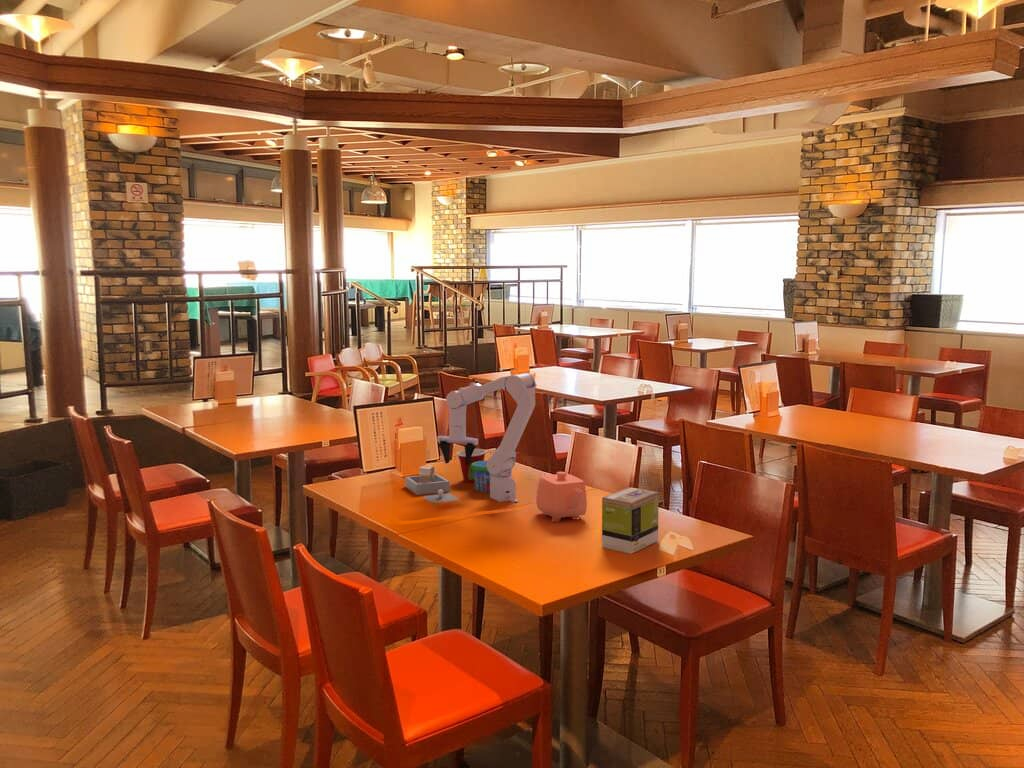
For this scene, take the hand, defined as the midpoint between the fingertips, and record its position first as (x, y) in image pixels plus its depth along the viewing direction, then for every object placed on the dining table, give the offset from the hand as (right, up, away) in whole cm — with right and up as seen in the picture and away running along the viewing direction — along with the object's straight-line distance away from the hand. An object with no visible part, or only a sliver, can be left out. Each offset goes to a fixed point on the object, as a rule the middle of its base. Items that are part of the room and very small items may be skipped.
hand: (457, 463), depth 284 cm
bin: (-11, -10, +3) cm, 15 cm away
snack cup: (+10, -10, +3) cm, 15 cm away
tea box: (+52, -18, -53) cm, 76 cm away
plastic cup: (+4, -9, +16) cm, 18 cm away
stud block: (-5, -12, -9) cm, 15 cm away
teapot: (+35, -14, -26) cm, 46 cm away
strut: (-11, -9, +3) cm, 14 cm away
